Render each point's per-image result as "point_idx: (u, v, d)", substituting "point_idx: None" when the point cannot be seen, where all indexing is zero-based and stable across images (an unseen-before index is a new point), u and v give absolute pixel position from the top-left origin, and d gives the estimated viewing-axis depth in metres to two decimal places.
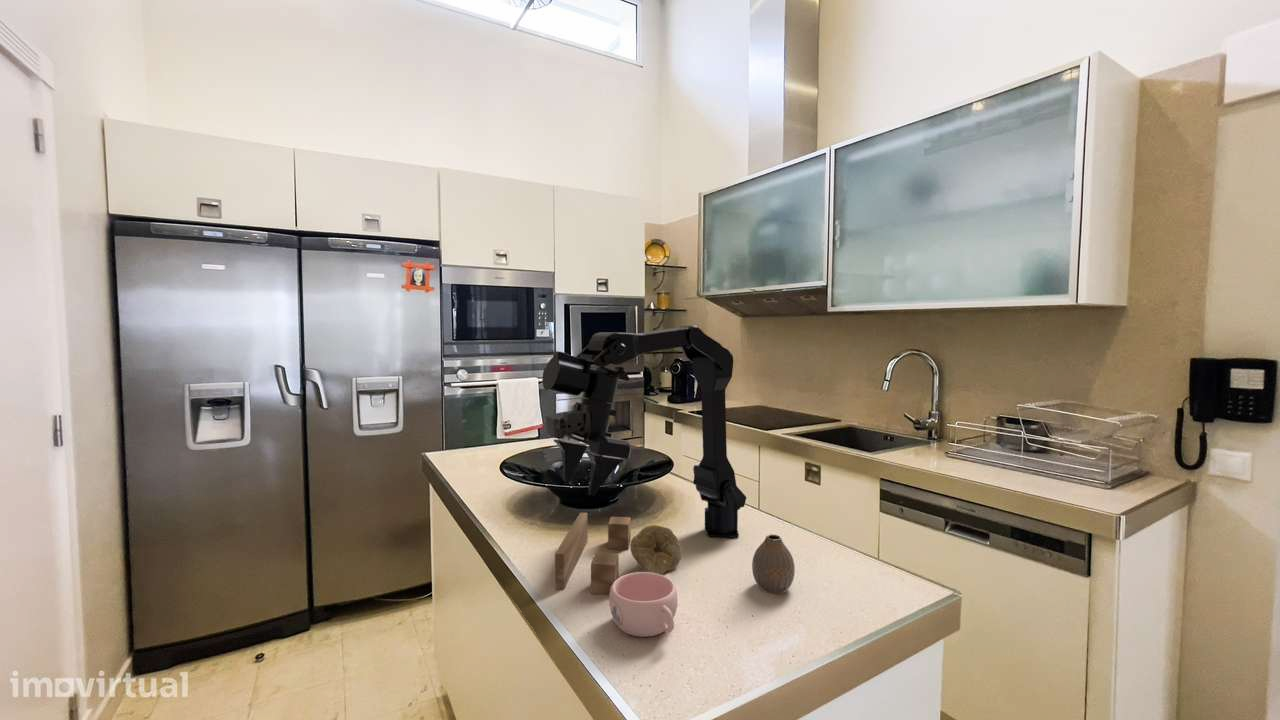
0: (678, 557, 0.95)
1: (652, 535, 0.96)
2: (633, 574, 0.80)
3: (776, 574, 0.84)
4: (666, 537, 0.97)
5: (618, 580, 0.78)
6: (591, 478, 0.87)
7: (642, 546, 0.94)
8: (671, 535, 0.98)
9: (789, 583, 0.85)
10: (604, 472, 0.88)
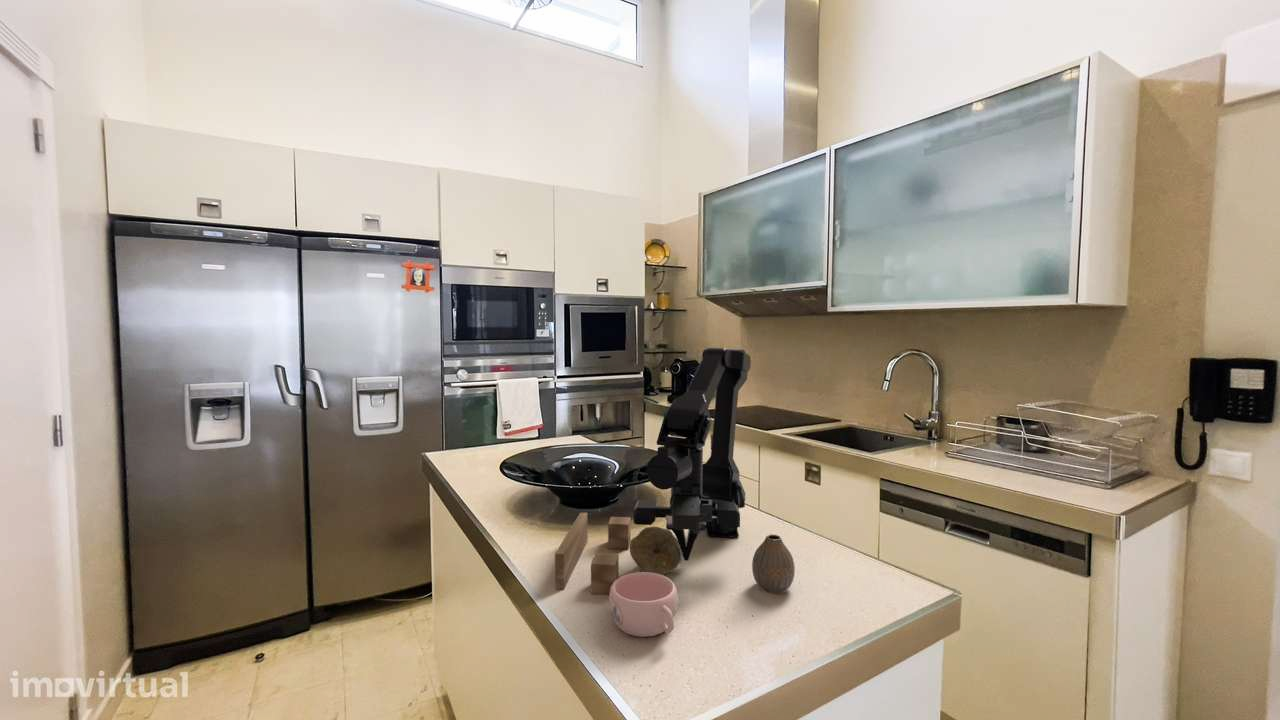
0: (677, 559, 0.94)
1: (652, 536, 0.96)
2: (633, 574, 0.80)
3: (776, 574, 0.84)
4: (665, 538, 0.96)
5: (618, 580, 0.78)
6: (690, 547, 0.94)
7: (641, 547, 0.94)
8: (671, 536, 0.97)
9: (789, 583, 0.85)
10: None
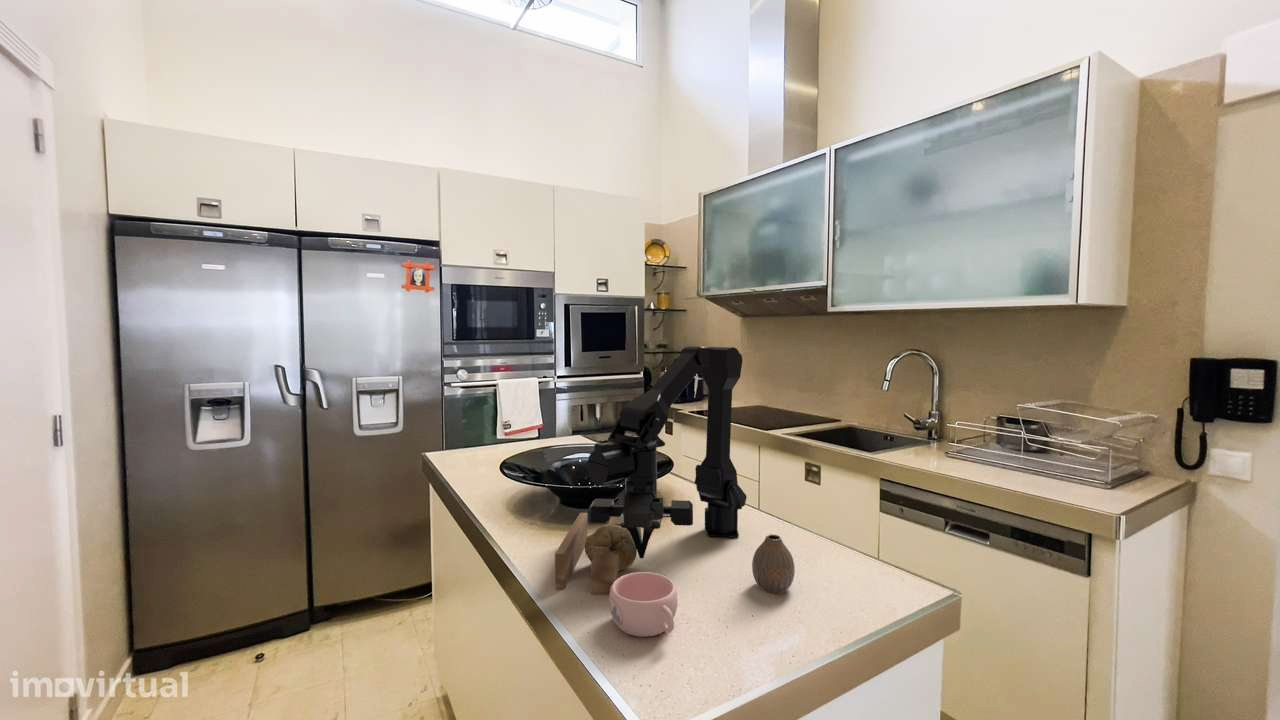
0: (632, 557, 0.95)
1: (608, 534, 0.97)
2: (633, 574, 0.80)
3: (776, 574, 0.84)
4: (622, 536, 0.97)
5: (618, 580, 0.78)
6: (645, 545, 0.94)
7: (596, 544, 0.95)
8: (628, 534, 0.98)
9: (789, 583, 0.85)
10: None
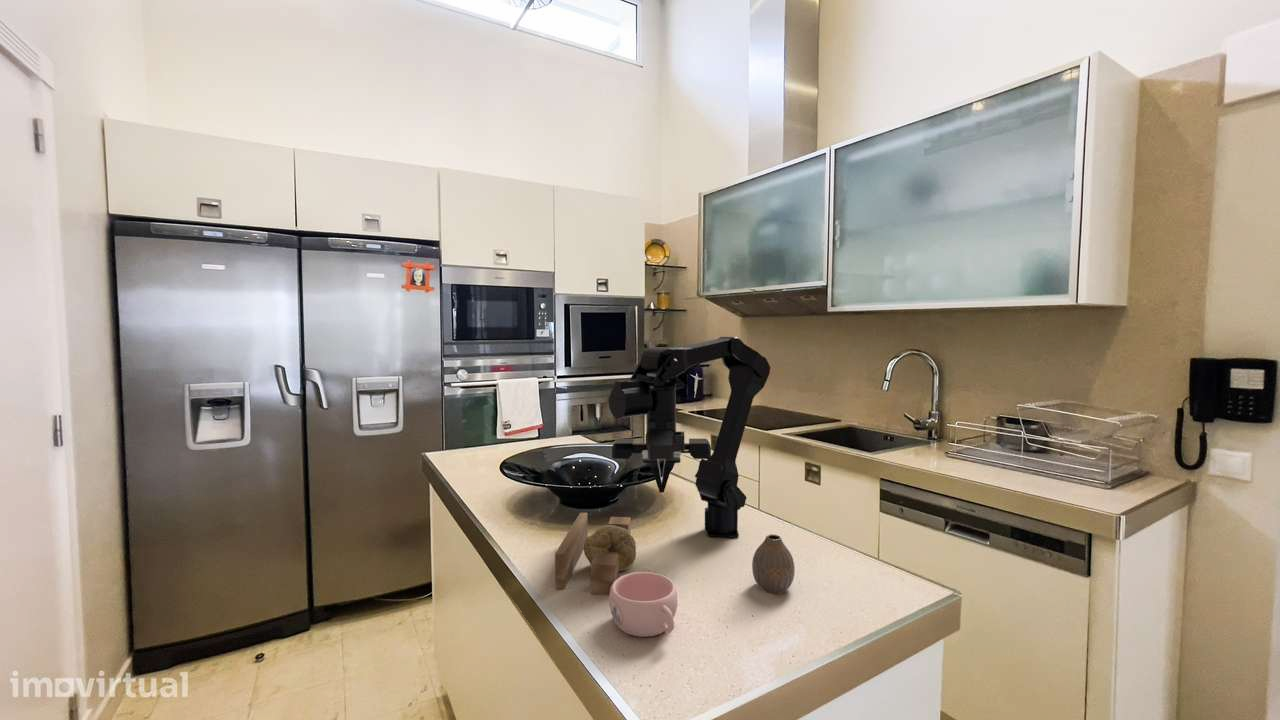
0: (632, 558, 0.95)
1: (607, 535, 0.96)
2: (633, 574, 0.80)
3: (776, 574, 0.84)
4: (621, 537, 0.97)
5: (618, 580, 0.78)
6: (665, 479, 1.00)
7: (595, 545, 0.94)
8: (627, 535, 0.97)
9: (789, 583, 0.85)
10: None
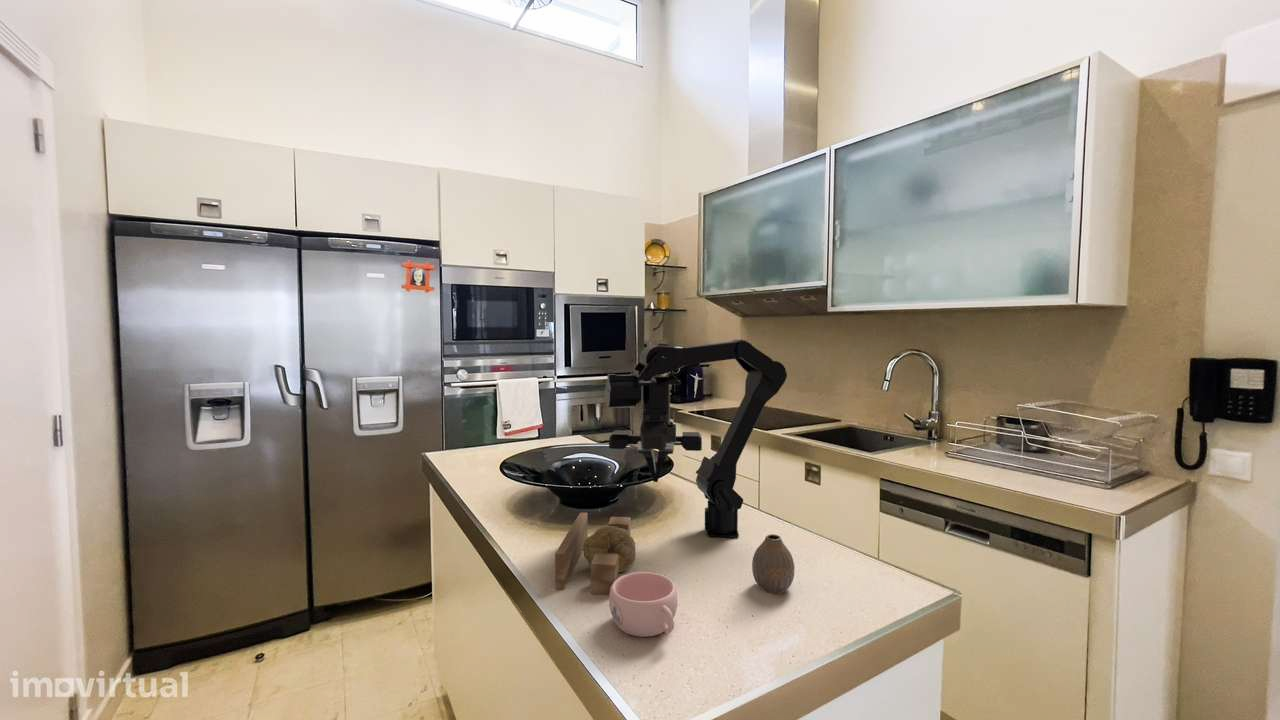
0: (631, 559, 0.94)
1: (607, 536, 0.96)
2: (633, 574, 0.80)
3: (776, 574, 0.84)
4: (621, 538, 0.96)
5: (618, 580, 0.78)
6: (659, 469, 1.07)
7: (595, 546, 0.94)
8: (627, 536, 0.97)
9: (789, 583, 0.85)
10: None
